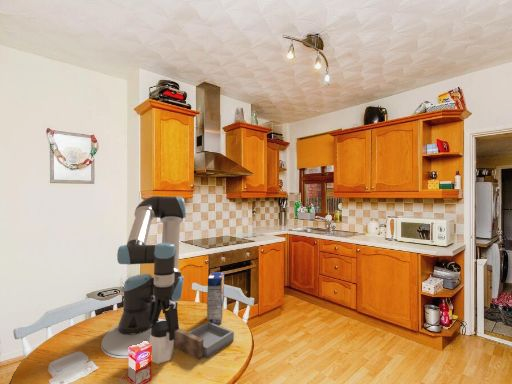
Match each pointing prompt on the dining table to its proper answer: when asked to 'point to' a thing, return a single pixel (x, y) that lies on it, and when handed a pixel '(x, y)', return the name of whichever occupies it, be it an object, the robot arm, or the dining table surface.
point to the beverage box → (215, 297)
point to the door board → (188, 344)
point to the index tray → (213, 337)
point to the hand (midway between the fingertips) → (162, 344)
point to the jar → (160, 343)
